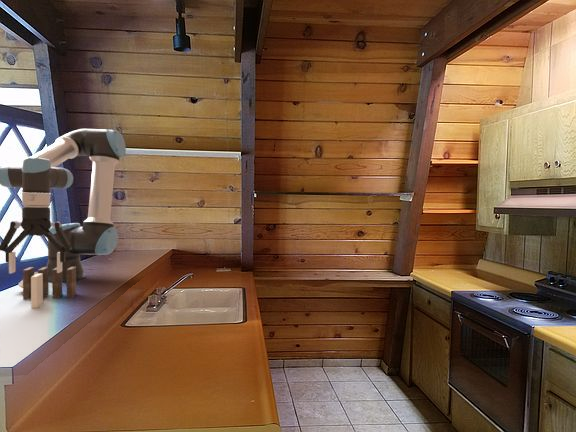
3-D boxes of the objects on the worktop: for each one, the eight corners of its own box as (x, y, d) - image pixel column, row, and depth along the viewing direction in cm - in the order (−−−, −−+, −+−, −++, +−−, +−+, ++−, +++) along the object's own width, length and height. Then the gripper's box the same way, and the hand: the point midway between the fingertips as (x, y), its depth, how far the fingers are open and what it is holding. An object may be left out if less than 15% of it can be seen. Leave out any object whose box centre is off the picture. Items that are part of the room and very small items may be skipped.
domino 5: (66, 297, 135) (66, 269, 134) (71, 294, 140) (71, 266, 139) (71, 297, 135) (71, 269, 135) (76, 293, 140) (76, 266, 139)
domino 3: (37, 298, 133) (37, 269, 132) (43, 294, 138) (43, 267, 137) (43, 298, 133) (43, 269, 133) (48, 294, 138) (48, 267, 137)
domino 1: (23, 299, 132) (22, 270, 131) (29, 295, 137) (29, 267, 136) (28, 298, 132) (28, 270, 131) (34, 295, 137) (34, 267, 136)
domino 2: (31, 307, 123) (30, 276, 122) (37, 303, 127) (37, 273, 127) (36, 307, 123) (36, 276, 122) (42, 303, 128) (42, 273, 127)
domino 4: (52, 298, 134) (52, 269, 133) (57, 294, 139) (57, 266, 138) (57, 298, 134) (57, 269, 134) (62, 294, 139) (62, 266, 138)
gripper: (-15, 205, 117) (-15, 275, 118) (75, 207, 122) (75, 274, 123) (-3, 205, 124) (-3, 270, 125) (82, 207, 130) (82, 269, 131)
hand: (36, 272), depth 124 cm, fingers open, 13 cm apart
